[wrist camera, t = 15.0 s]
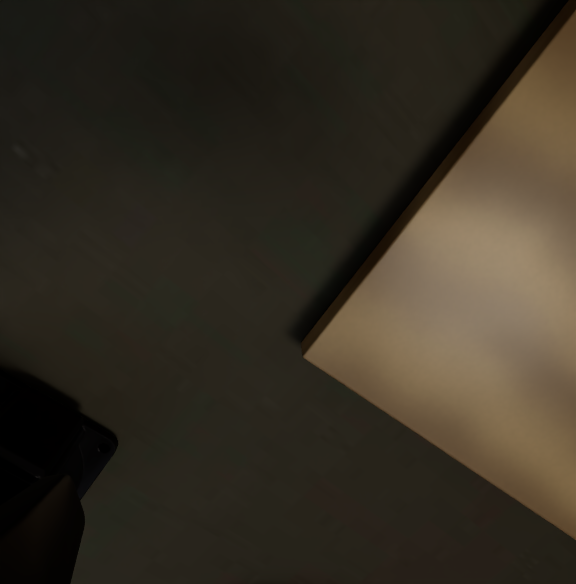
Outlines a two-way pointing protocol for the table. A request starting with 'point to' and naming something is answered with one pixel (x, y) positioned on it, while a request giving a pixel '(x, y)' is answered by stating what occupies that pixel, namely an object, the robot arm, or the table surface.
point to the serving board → (482, 294)
